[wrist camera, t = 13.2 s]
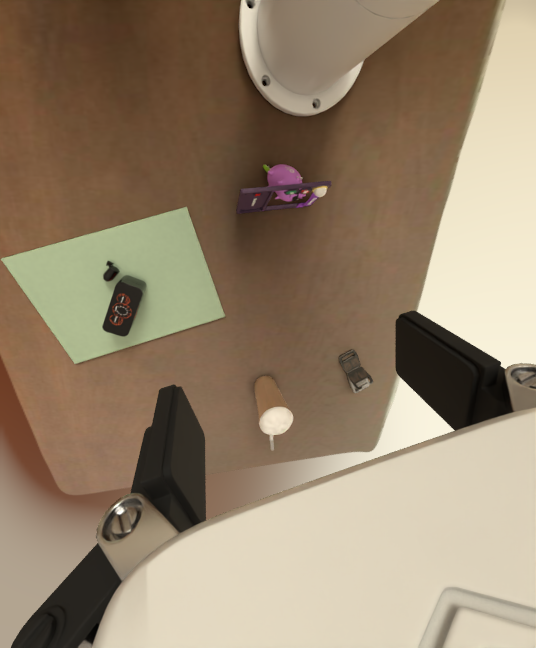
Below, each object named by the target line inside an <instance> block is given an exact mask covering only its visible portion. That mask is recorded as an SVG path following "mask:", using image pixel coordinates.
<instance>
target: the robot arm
mask: <svg viewBox="0 0 536 648" xmlns="http://www.w3.org/2000/svg"><path fill="white" fill-rule="evenodd" d="M438 1H439V0H241V4H240V13H239V37H240V46H241V50H242V55H243V60H244V62H245V65H246V68H247V70H248V73H249V75H250V77H251V79H252V81H253V83H254V84H255V86H256V88H257V89H258V90H259V92H260V93H261V94H262V95H263V97H264V98H265V99H266V100H267V101H268V102H269V103H271V104H272V105H273V106H274V107H276V108H277V109H279V110H281V111H283V112H284V113H287V114H291V115H294V116H311V115H316V114H319V113H321V112H323V111H325V110H327V109H329V108H330V107H332V106H333V105H335V104H336V103H337V102H338V101H340V100H341V99H342V98H343V97H344V96H345V95H346V93H347V92H348V91H349V89H350V88H351V87H352V85H353V84H354V82H355V80H356V78H357V76H358V74H359V72H360V70H361V67H362V64H363V62H364V60H365V59H366V58H367V57H368V56H370V55H371V54H372V53H373V52H375V51H376V50H377V49H378V48H380V47H381V46H382V45H383V44H385V43H386V42H387V41H389V40H390V39H391V38H392V37H394V36H395V35H396V34H397V33H399V32H400V31H401V30H402V29H404V28H405V27H406V26H407V25H409V24H410V23H411V22H413V21H414V20H415V19H416V18H418V17H419V16H420V15H421V14H423V13H424V12H425V11H426V10H428V9H429V8H430V7H432V6H433V5H434V4H435V3H437V2H438ZM247 4H250V5H251V6H252V9H251V8H249V7H248V6H247ZM262 81H265V82H266V86H263V85H262ZM312 103H314V104H315V108H313V105H312ZM500 365H501V362H500V361H498V360H497V359H495V358H493V357H492V356H490V355H488V354H487V353H485V352H483V351H482V350H480V349H478V348H476V347H475V346H473V345H471V344H470V343H468V342H466V341H465V340H463V339H461V338H460V337H458V336H456V335H455V334H453V333H451V332H450V331H448V330H446V329H445V328H443V327H441V326H440V325H438V324H436V323H435V322H433V321H431V320H430V319H428V318H426V317H424V316H423V315H421V314H420V313H418V312H416V311H410V312H407V313H403V314H401V315H399V318H398V319H397V320H396V371H397V374H398V375H399V376H400V377H401V378H402V379H403V380H404V381H405V382H406V383H407V384H408V385H409V386H410V387H411V388H412V389H413V390H414V391H415V392H416V393H417V394H418V395H419V396H420V397H421V398H422V399H423V400H424V401H425V402H426V403H427V404H428V405H429V406H430V407H431V408H432V409H433V410H434V411H436V413H437V414H438V415H439V416H441V417H442V418H443V419H444V420H445V421H446V422H447V423H448V424H449V425H450V426H451V427H452V428H453V429H454V430H455V431H453V432H450V433H447V434H445V435H442V436H439V437H436V438H433V439H430V440H427V441H424V442H421V443H418V444H415V445H412V446H410V447H407V448H404V449H401V450H398V451H395V452H392V453H389V454H387V455H384V456H381V457H378V458H375V459H372V460H370V461H367V462H364V463H361V464H358V465H355V466H352V467H350V468H347V469H344V470H341V471H338V472H335V473H333V474H330V475H327V476H324V477H321V478H319V479H316V480H313V481H310V482H307V483H305V484H302V485H299V486H296V487H294V488H291V489H288V490H285V491H282V492H279V493H277V494H274V495H271V496H269V497H265V498H263V499H260V500H257V501H255V502H252V503H250V504H247V505H244V506H241V507H239V508H236V509H234V510H231V511H228V512H225V513H223V514H220V515H218V516H215V517H213V518H211V519H208V520H206V500H205V437H204V433H203V430H202V428H201V426H200V424H199V422H198V420H197V418H196V416H195V414H194V412H193V410H192V408H191V406H190V403H189V401H188V399H187V397H186V395H185V393H184V391H183V389H182V387H176V385H171V386H168V387H164V388H161V389H160V390H159V394H158V399H157V404H156V408H155V413H154V418H153V423H152V426H151V427H148V428H147V429H146V431H145V433H144V438H143V442H142V446H141V451H140V455H139V459H138V463H137V468H136V472H135V476H134V481H133V485H132V489H131V494H128V495H125V496H124V497H122V498H120V499H118V500H117V501H116V502H115V503H114V504H112V505H111V507H110V508H109V509H108V510H107V511H106V512H105V514H104V515H103V517H102V518H101V520H100V523H99V525H98V528H97V535H96V538H97V541H98V543H97V545H96V546H95V547H94V548H93V549H92V550H91V551H90V552H89V553H88V555H87V556H86V557H85V558H84V559H83V560H82V561H81V562H80V563H79V564H78V566H77V567H76V568H75V569H74V570H73V571H72V572H71V573H70V574H69V576H68V577H67V578H66V579H65V580H64V581H63V582H62V583H61V584H60V585H59V587H58V588H57V589H56V590H55V591H54V592H53V593H52V594H51V595H50V597H49V598H48V599H47V600H46V601H45V602H44V603H43V604H42V605H41V607H40V608H39V609H38V610H37V611H36V612H35V613H34V614H33V615H32V616H31V618H30V619H29V620H28V621H27V623H26V624H25V625H24V626H23V628H22V629H21V630H20V632H19V634H18V635H17V637H16V639H15V640H14V642H13V644H12V646H11V648H536V365H534V364H522V363H520V364H514V365H511V366H509V367H507V369H504V368H503V367H501V366H500Z"/></svg>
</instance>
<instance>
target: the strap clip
mask: <svg viewBox="0 0 536 648" xmlns="http://www.w3.org/2000/svg"><path fill="white" fill-rule="evenodd" d="M351 353H354V356H352V357H350V358H348V359H346V360H344V361H342V358H343V357H345V356H347V355H349V354H351ZM339 360H340V364H341V366H342V367H343V369H344V371H345V372H346V373H348V374H347V376H348V381H349V384H350V386H351V388H352V390H353V391H354V392H355V393H358V392H360V391H361V390H363V389H365V388H367V387H368V386H369V385H370V384H372V383H373V380H372V378H371V376H370V375H369V374H368V373H367V372H366V371H365V370H364V369H363V368H362V367H360V361H359V358H358V355H357V353H356V352H355V351H354V350H351V351H349V352H347V353H345V354H344V355H342V356H340V357H339ZM367 378H369V380H370V382H369V381H368V379H367ZM364 383H365V384H364ZM362 384H364V385H362ZM361 385H362V386H361ZM359 386H360V387H359ZM355 388H356V389H355Z"/></svg>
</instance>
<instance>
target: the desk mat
mask: <svg viewBox="0 0 536 648" xmlns="http://www.w3.org/2000/svg"><path fill="white" fill-rule="evenodd" d="M1 260H2V261H3V263H4V264H5V266H6V267H7V268H8V270H9V271H10V273H11V274H12V275H13V277H14V278H15V280H16V281H17V283H18V284H19V285H20V287H21V288H22V290H23V291H24V292H25V294H26V295H27V297H28V298H29V300H30V301H31V302H32V304H33V305H34V307H35V308H36V309H37V311H38V312H39V314H40V315H41V316H42V318H43V319H44V321H45V322H46V324H47V325H48V326H49V328H50V329H51V331H52V332H53V333H54V335H55V336H56V338H57V339H58V341H59V342H60V343H61V345H62V346H63V348H64V349H65V350H66V352H67V353H68V355H69V356H70V358H71V359H72V360H73V362H74V363H75V364H76V363H80V362H83V361H86V360H89V359H92V358H95V357H99V356H102V355H105V354H108V353H111V352H115V351H118V350H121V349H124V348H127V347H130V346H134V345H137V344H140V343H143V342H146V341H150V340H153V339H156V338H159V337H162V336H165V335H169V334H172V333H175V332H178V331H181V330H184V329H188V328H191V327H194V326H197V325H200V324H204V323H207V322H210V321H213V320H216V319H219V318H223V317H225V314H224V311H223V309H222V306H221V303H220V300H219V297H218V294H217V292H216V289H215V286H214V283H213V280H212V277H211V275H210V272H209V269H208V266H207V263H206V260H205V258H204V255H203V252H202V249H201V246H200V243H199V241H198V238H197V235H196V232H195V229H194V226H193V224H192V221H191V218H190V215H189V212H188V209H187V207H184V208H181V209H177V210H174V211H170V212H166V213H163V214H159V215H156V216H152V217H148V218H145V219H141V220H138V221H134V222H131V223H127V224H123V225H120V226H116V227H113V228H109V229H106V230H102V231H98V232H95V233H91V234H88V235H84V236H80V237H77V238H73V239H70V240H66V241H63V242H59V243H55V244H52V245H48V246H45V247H41V248H37V249H34V250H30V251H27V252H23V253H20V254H16V255H12V256H9V257H5V258H2V259H1ZM107 261H110V262H112V263H114V264H113V266H115V267H117V268H118V269H119V270H120V272H119V274H118V275H117V276H116V277H115V279H114V280H112V281H110V282H107V281H105V280H104V279H103V274H104V273H105V272H106V270H107V269H108V268H109V267H108V266H106V263H107ZM125 275H129V276H132V277H135V278H137V279H140V280H143V281H144V282H145V283H146V284H147V288H146V291H145V293H144V296H143V299H142V302H141V304H140V307H139V310H138V313H137V315H136V318H135V321H134V324H133V326H132V328H131V330H130V332H129V334H128V335H127V336H125V337H122V336H118V335H115V334H112V333H108V332H106V331H104V330H103V328H102V326H103V323H104V319H105V316H106V313H107V310H108V307H109V304H110V301H111V298H112V295H113V292H114V289H115V285H116V284H117V283H118V281H119V280H120V279H121V278H122V277H123V276H125Z"/></svg>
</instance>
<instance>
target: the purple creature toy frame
mask: <svg viewBox="0 0 536 648" xmlns="http://www.w3.org/2000/svg"><path fill="white" fill-rule="evenodd" d="M268 167H269V165H268V166H266V164H265V165H263V168H264V170H265V171H266V172H267V173H268V176H267V179H268V183H269V186H267V187H258V188H248V189H241V190H240V194H239V199H238V204H237V209H236V211H237V214H240V213H249V212H259V211H268V210H278V209H287V208H298V207H306V206H311V205H312V204H313V203H314V202H315V201H316V200H317V199H318V198H319V197H322V196H324V195H325V193H326V190H327V189H328V188H329V187H330V186H331V181H323V182H312V183H302V179H303V177H301V176H300V174H299V173H298V171H297V170H296V169H294V168H293V167H291V166H288V165H284V164H279V165H276V166H274V167H272V168H268ZM312 187H316V188H314V189H312ZM274 191H275V192H276V194H277V195H278V196H277V197H276V198H275V199H282V200H284V201H287V202H289V201H295V200H299V199H298V197H299V198H300V199H302V197H304V196H306V194H305V195H303V194H302V193H308V192H310V191H312V192H313V193H312V195H311V197H310V198H309V199H308V201H307V202H304V203H295V204H285V205H276V206H267V204H268V202H269V200H270V198H271V196H272V194H273V193H274Z"/></svg>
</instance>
